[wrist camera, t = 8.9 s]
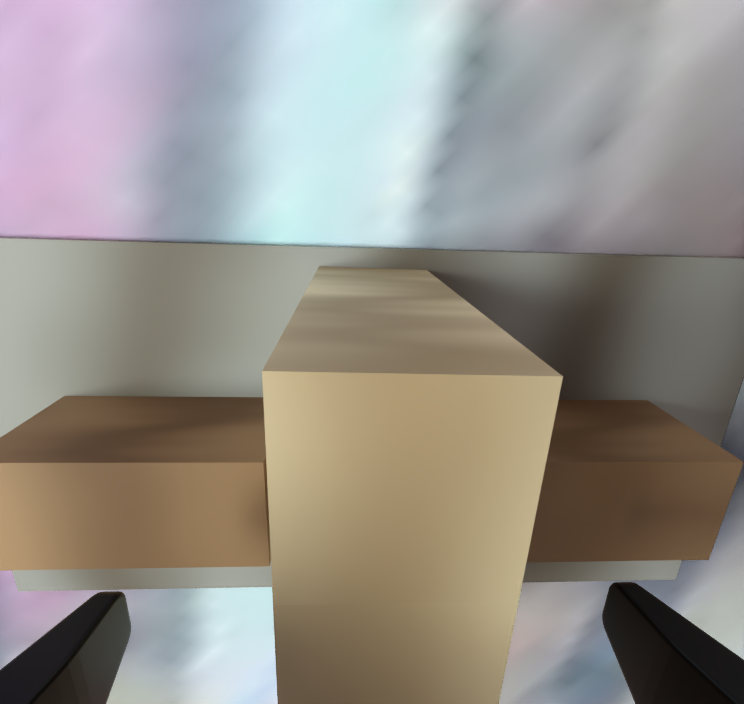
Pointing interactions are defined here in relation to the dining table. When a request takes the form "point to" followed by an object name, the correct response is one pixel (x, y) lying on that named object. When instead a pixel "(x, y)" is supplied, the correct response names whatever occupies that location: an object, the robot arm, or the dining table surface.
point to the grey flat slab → (246, 407)
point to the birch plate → (399, 490)
